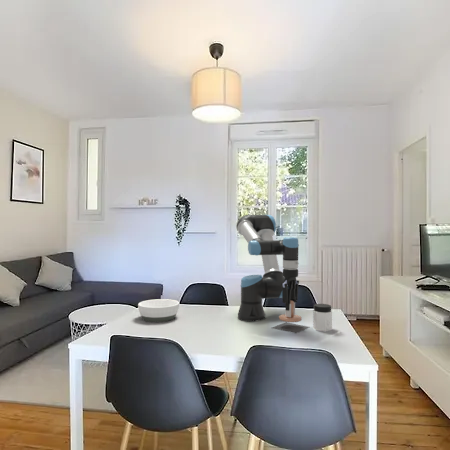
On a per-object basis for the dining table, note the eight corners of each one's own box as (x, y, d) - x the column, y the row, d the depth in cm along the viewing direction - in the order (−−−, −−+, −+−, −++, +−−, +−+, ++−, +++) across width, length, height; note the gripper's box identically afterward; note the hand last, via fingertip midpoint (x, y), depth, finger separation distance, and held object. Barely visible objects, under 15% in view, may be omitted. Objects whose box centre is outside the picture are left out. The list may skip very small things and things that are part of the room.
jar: (322, 333, 169) (322, 308, 169) (309, 329, 176) (309, 304, 176) (335, 330, 174) (335, 305, 174) (322, 326, 181) (322, 302, 181)
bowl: (129, 321, 192) (129, 305, 192) (153, 312, 213) (153, 297, 213) (165, 325, 184) (165, 309, 184) (186, 315, 205) (186, 300, 205)
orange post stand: (274, 319, 177) (274, 301, 177) (286, 314, 186) (286, 297, 186) (294, 323, 170) (294, 304, 170) (305, 318, 178) (305, 300, 178)
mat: (270, 329, 177) (270, 327, 177) (285, 323, 187) (285, 322, 187) (296, 334, 167) (296, 333, 167) (310, 328, 178) (310, 327, 178)
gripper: (288, 271, 169) (288, 320, 169) (305, 267, 181) (304, 314, 182) (275, 269, 174) (274, 317, 174) (292, 266, 186) (291, 311, 186)
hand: (290, 315), depth 178 cm, fingers closed on orange post stand, 3 cm apart
